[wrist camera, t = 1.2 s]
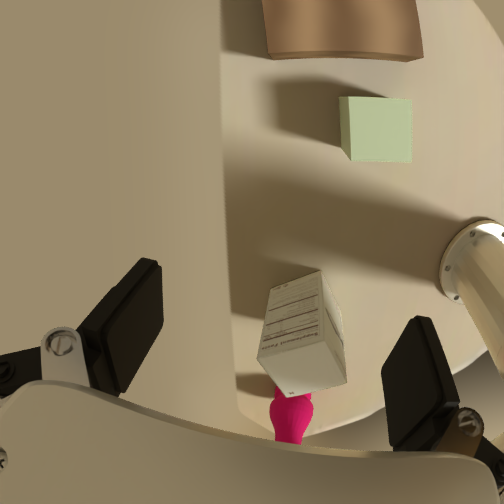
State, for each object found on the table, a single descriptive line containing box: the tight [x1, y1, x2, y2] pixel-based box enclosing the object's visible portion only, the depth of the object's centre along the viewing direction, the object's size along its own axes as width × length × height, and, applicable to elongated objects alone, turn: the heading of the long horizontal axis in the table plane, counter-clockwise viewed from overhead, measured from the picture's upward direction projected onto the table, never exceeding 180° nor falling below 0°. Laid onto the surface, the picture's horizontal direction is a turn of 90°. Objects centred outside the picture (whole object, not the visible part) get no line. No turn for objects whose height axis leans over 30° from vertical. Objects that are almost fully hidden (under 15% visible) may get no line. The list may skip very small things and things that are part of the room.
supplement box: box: [257, 270, 347, 397], centre depth 34 cm, size 7×7×13 cm
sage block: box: [339, 96, 412, 163], centre depth 25 cm, size 6×6×7 cm
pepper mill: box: [270, 386, 313, 445], centre depth 41 cm, size 7×7×20 cm
